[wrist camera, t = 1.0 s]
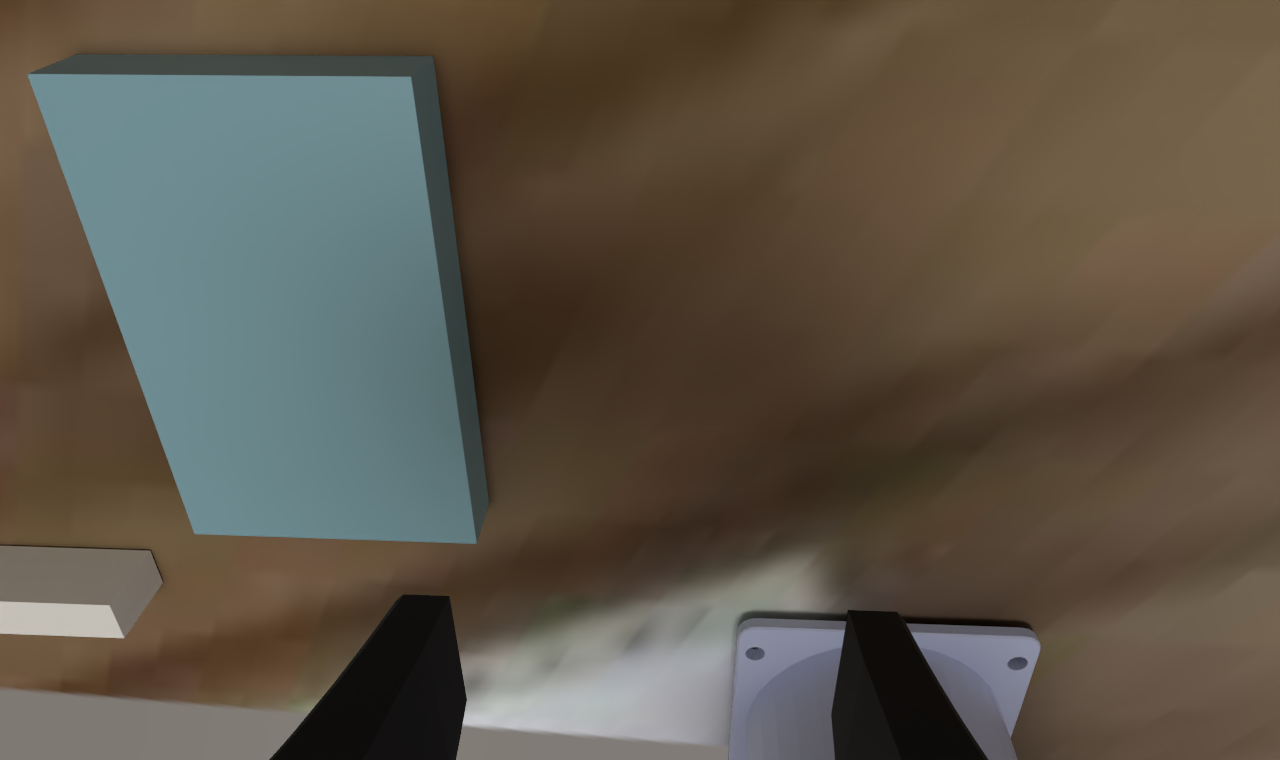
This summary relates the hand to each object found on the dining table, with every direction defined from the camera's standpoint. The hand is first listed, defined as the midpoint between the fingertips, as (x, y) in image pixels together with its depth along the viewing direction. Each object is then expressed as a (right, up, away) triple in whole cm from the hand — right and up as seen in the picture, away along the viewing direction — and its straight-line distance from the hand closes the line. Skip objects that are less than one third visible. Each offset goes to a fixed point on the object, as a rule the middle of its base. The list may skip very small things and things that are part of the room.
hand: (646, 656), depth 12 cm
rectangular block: (-7, +5, +9) cm, 13 cm away
